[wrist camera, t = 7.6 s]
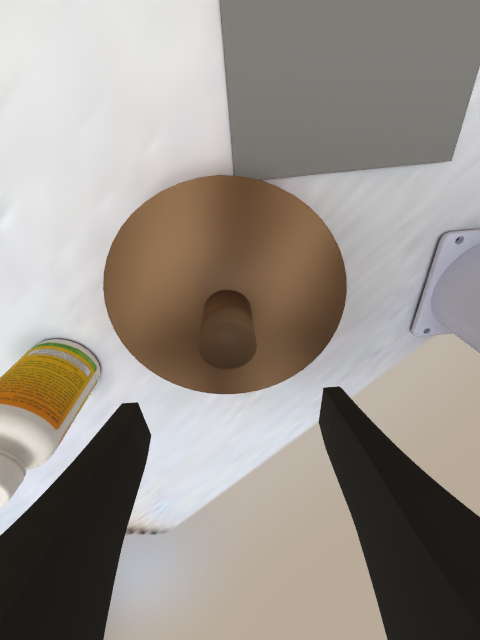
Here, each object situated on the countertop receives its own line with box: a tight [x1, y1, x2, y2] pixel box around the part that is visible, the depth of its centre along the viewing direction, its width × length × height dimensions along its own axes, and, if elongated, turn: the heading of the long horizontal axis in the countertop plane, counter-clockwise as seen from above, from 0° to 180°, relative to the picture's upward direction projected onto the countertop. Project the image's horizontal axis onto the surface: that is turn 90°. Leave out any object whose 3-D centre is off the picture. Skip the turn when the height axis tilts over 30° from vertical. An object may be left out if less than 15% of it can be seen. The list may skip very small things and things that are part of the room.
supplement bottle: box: [0, 339, 100, 507], centre depth 17 cm, size 5×5×10 cm
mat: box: [220, 0, 480, 180], centre depth 11 cm, size 12×12×1 cm
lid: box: [103, 175, 346, 394], centre depth 12 cm, size 12×12×4 cm
